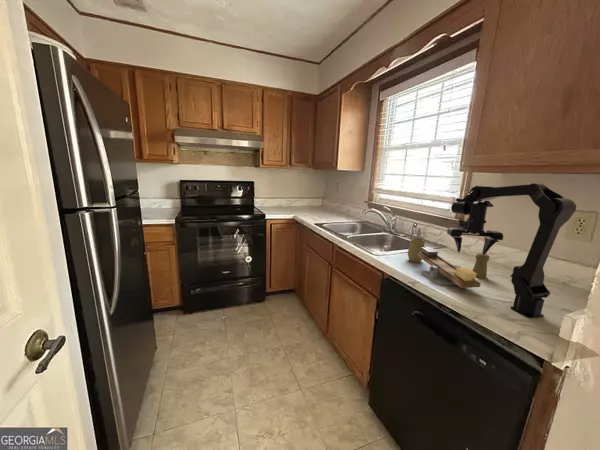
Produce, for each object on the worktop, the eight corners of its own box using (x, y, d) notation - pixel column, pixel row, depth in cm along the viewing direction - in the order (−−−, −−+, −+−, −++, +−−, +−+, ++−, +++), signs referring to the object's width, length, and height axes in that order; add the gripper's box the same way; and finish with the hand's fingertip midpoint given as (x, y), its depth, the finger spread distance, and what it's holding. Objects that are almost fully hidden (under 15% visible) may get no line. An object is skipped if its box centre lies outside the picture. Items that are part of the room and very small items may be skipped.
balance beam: (479, 286, 101) (481, 282, 100) (461, 288, 99) (463, 283, 98) (432, 254, 126) (433, 251, 126) (417, 255, 124) (417, 251, 124)
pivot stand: (468, 283, 109) (471, 270, 108) (439, 285, 106) (441, 272, 105) (447, 272, 121) (449, 260, 119) (420, 274, 118) (422, 261, 116)
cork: (489, 279, 115) (494, 256, 113) (474, 277, 116) (478, 254, 114) (482, 274, 121) (487, 252, 119) (468, 272, 122) (472, 251, 120)
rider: (473, 282, 101) (476, 273, 100) (463, 282, 100) (466, 274, 99) (463, 275, 106) (466, 267, 104) (453, 276, 105) (456, 267, 103)
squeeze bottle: (425, 264, 131) (430, 230, 128) (408, 262, 132) (413, 229, 129) (420, 259, 139) (425, 227, 135) (405, 257, 140) (409, 226, 137)
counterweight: (436, 257, 121) (438, 251, 120) (427, 257, 120) (428, 252, 119) (429, 252, 126) (431, 247, 125) (420, 252, 124) (421, 247, 123)
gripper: (493, 215, 109) (487, 250, 112) (445, 212, 113) (440, 246, 116) (507, 219, 98) (500, 258, 101) (454, 216, 103) (448, 253, 106)
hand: (470, 253), depth 106 cm, fingers open, 9 cm apart
